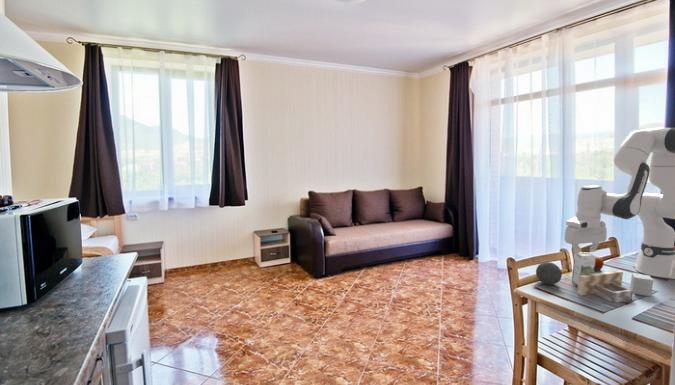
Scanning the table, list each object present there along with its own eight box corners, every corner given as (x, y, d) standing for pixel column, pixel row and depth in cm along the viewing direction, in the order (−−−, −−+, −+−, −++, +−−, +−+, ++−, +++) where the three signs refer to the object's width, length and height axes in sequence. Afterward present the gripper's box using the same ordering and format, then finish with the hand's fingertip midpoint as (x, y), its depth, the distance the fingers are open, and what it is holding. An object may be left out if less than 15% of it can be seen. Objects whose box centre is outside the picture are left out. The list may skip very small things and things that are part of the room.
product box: (648, 291, 147) (650, 275, 146) (651, 297, 142) (653, 280, 141) (629, 288, 151) (631, 272, 150) (632, 293, 146) (634, 277, 145)
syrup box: (584, 282, 158) (587, 251, 156) (592, 287, 152) (595, 255, 150) (571, 281, 159) (574, 251, 157) (579, 286, 153) (582, 255, 151)
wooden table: (616, 287, 152) (618, 270, 151) (642, 297, 142) (645, 279, 140) (577, 293, 146) (578, 275, 145) (602, 304, 136) (604, 285, 135)
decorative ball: (533, 278, 163) (534, 258, 162) (557, 280, 160) (559, 260, 158) (537, 286, 154) (539, 265, 152) (563, 289, 150) (565, 267, 149)
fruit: (591, 270, 169) (587, 254, 172) (583, 273, 176) (579, 257, 179) (609, 271, 167) (605, 254, 171) (600, 274, 175) (596, 258, 178)
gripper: (598, 219, 157) (595, 248, 159) (563, 221, 152) (560, 251, 154) (612, 222, 151) (609, 252, 153) (576, 224, 146) (573, 256, 148)
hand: (584, 252), depth 153 cm, fingers open, 8 cm apart
